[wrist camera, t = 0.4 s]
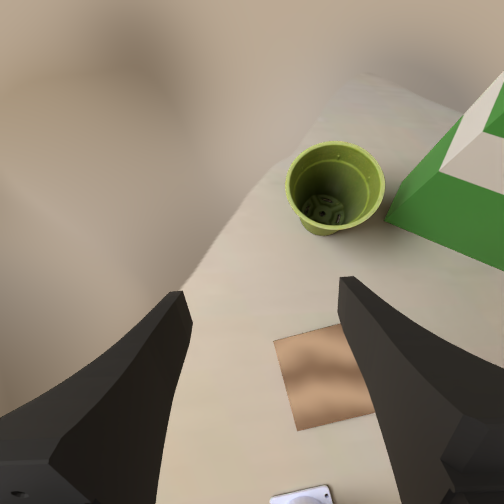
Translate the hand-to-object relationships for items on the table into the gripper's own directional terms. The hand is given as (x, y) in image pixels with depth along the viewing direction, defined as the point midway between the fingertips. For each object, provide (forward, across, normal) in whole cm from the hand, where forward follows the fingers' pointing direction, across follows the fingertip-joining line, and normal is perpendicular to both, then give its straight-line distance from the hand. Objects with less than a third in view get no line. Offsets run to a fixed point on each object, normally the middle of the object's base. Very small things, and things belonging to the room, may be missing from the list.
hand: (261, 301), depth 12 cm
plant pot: (+31, -10, +9) cm, 34 cm away
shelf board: (+14, -7, +27) cm, 31 cm away
